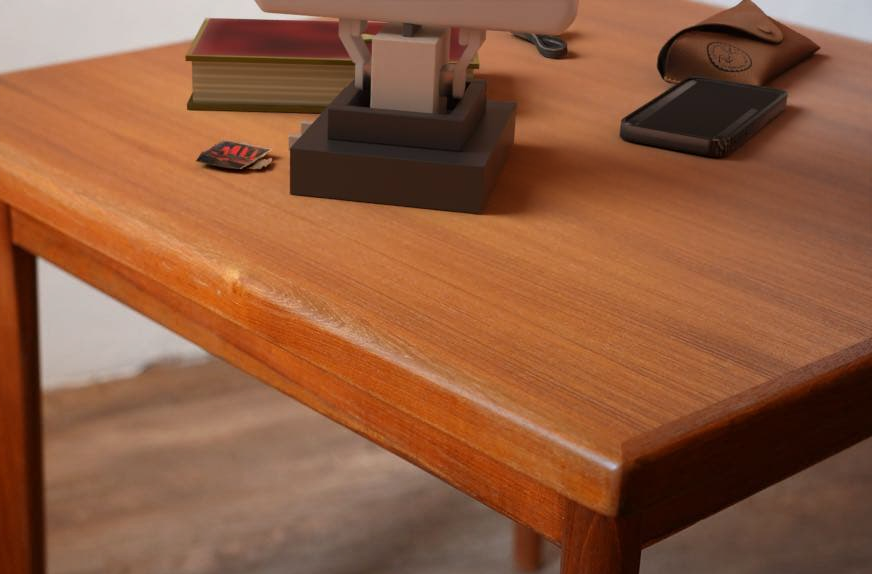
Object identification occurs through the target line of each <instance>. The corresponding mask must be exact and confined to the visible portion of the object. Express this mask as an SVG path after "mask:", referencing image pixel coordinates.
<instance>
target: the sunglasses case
mask: <svg viewBox="0 0 872 574" xmlns="http://www.w3.org/2000/svg"><path fill="white" fill-rule="evenodd" d="M819 50H821V47H820V45H818V44H817V43H816V42H815V41H813V40H812V39H811V38H809V37H807V36H805V35H804V34H802V33H800V32H798V31H796V30H794V29H792V28H790V27H789V26H787V25H786V24H783V23H781V22H780V21H778V20H776V19H774V18H773V17H771V16H769V15H767V14H766V13H765V11H764V10H762V8H760V6H758V5H757V4H756V3H755V2H754V1H752V0H741V1H740V2H739V3H737V4H736V5H734V6H731V7H729V8H727V9H723V10H722V11H720V12H717V13H716V14H713V15H711V16H709V17H707V18H704V19H703V20H701V21H699V22H698V23H696V24H694V25H690V26H688V27H685V28H682V29H681V30H679V31H677V32H675V33H674V35H672V36H671V37H670V38H669V39H667V41H666V42H665V43H664V44H663V45H662V47H661V49H660V50H659V52H658V54H657V61H656V69H657V71H658V74H659V75H660V77H661V79H662V80H663V81H664V82H665V83H668V84H672V85H676V84H678V83H679V82H681V81H682V80H684V79H686V78H688V77H693V76H699V77H706V78H713V79H720V80H727V81H733V82H739V83H745V84H751V85H757V86H763V87H765V85H766V84H767V83H770V82H771V81H772V80H773V79H775V78H776V77H779V75H781V74H784V72H786V71H788V70H790V69H792V68H794V67H796V66H797V65H798V64H800V63H802V62H803V61H805V60H806V59H808V58H809V57H811V56H813V55H814V54H815V53H817V52H818V51H819Z"/></svg>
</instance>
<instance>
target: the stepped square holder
mask: <svg viewBox="0 0 872 574" xmlns="http://www.w3.org/2000/svg"><path fill="white" fill-rule="evenodd" d="M488 85H489V79H486V78H485V79H484V78H474V77H473V78H466V82H465V91H464V95H463V96H462V98H461V99H459V98H448V97H447V109H446V115H445V114H434V113H423V112H412V111H401V110H390V109H379V108H371V90H359V89H356V88H355V79H354V80H353V81H352V82H351V83H350V84H349V85H348V87H345V88H344V89H343V90H342V91H341V92H340V93H339V95H338V96H337V97H336V98H335V99H334V100H333V101H332V102H331V103H330V104H329V106H328V107H327V108H326V109H325V110H324V111H323V112H322V113H319V115H318V116H317V118H316V119H315V120H314V121H313V120H302V121H301V122H300V134H298V133H290V134H289V135H288V136H287V151H289V194H290V195H296V196H304V197H315V198H325V199H334V200H343V201H352V202H362V203H372V204H381V205H382V204H383V205H391V206H401V207H408V208H409V207H410V208H420V209H429V210H439V211H446V212H447V211H449V212H458V213H467V214H478V215H481V214H482V213H483V212H484V211H483V210H484V209H485V207H486V204H487V202H488V200H489V198H490V196H491V194H492V192H493V189H494V187H495V185H496V183H497V181H498V179H499V177H500V174H501V172H502V170H503V168H504V166H505V165H506V162H507V159H508V157H509V155H510V153H511V151H512V149H513V147H514V144H515V135H516V133H515V132H516V121H517V109H518V108H517V107H518V102H517V101H512V100H511V101H510V100H501V99H500V100H498V99H488V87H489V86H488Z"/></svg>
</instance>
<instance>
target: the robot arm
mask: <svg viewBox="0 0 872 574" xmlns="http://www.w3.org/2000/svg"><path fill="white" fill-rule="evenodd" d="M579 1H580V0H254V2H255V3H256V5H257V7H258V8H259V9H260V11H262V12H263V13H266V14H267V13H268V14H279V15H290V16H304V17H314V18H326V19H327V18H329V19H338V21H339V37H340V39H341V41H342V43H343V45H344V46H345V48H346V50H347V52H348V54H349V56H350V57H351V59H352V61H353V63H355V88H356V89H359V90H371V73H372V56H371V54H370V52H369V50H368V48H367V46H366V44H365V42H364V40H363V38H362V36H361V34H362V33H363V32H364V31H365V30H366V29H367V28H368V22H380V23H388V22H390V23H403V24H404V23H405V24H415V25H428V26H441V27H453V28H459V44H460V45H463V46H466V45H467V44H468V47H467V48H466V50H465V52H464V53H463V55H462V56H461V58H460V59H459V61H458V62H457V64H444V66H443V68H441V70H440V78H439V83H440V84H441V85H440V86H439V97H448V98H459V99H461V98H462V96H463V95H464V91H465V82H466V68H467V67H468V65H469V64H470V62H471V61H472V59H473V58H474V56H475V55H476V53H477V52H479V51H480V49H481V48H482V46H483V45H484V43H485V41H486V39H487V31H493V32H505V33H510V32H516V33H529V34H542V35H550V36H560V35H562V34H563V33H564V32H565V31H566V30H567V29H569V28H570V27H571V25H572V24H573V23H574V22H575V21H576V19H577V15H578V11H579Z"/></svg>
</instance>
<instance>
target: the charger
mask: <svg viewBox="0 0 872 574" xmlns="http://www.w3.org/2000/svg"><path fill="white" fill-rule="evenodd" d="M386 23H387V24H386V25H385V26H384V27H383V28H382V29H381V30H380V31H379V32H378V33H377V34H376V35H375V37H374V38H373V39H372V73H371V108H379V109H390V110H401V111H412V112H423V113H434V114H445V115H446V109H447V97H439V86H440V85H441V84H440V83H439V78H440V70H441V68H443V66H444V64H449V51H450V32H451V27H441V26H428V25H415V24H405V23H404V24H403V23H390V22H386Z"/></svg>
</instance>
